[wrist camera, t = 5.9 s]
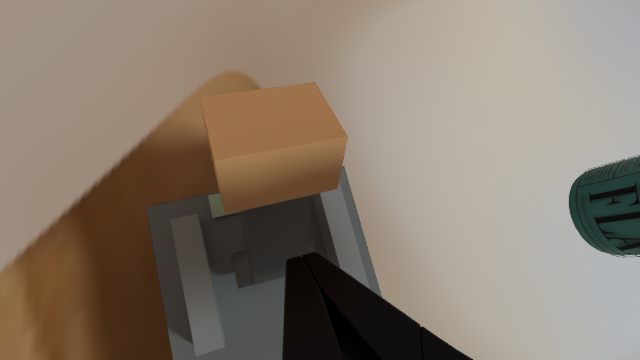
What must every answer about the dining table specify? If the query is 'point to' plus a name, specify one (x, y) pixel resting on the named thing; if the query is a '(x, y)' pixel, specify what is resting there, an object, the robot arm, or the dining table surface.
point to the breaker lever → (272, 169)
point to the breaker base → (219, 277)
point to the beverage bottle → (609, 207)
